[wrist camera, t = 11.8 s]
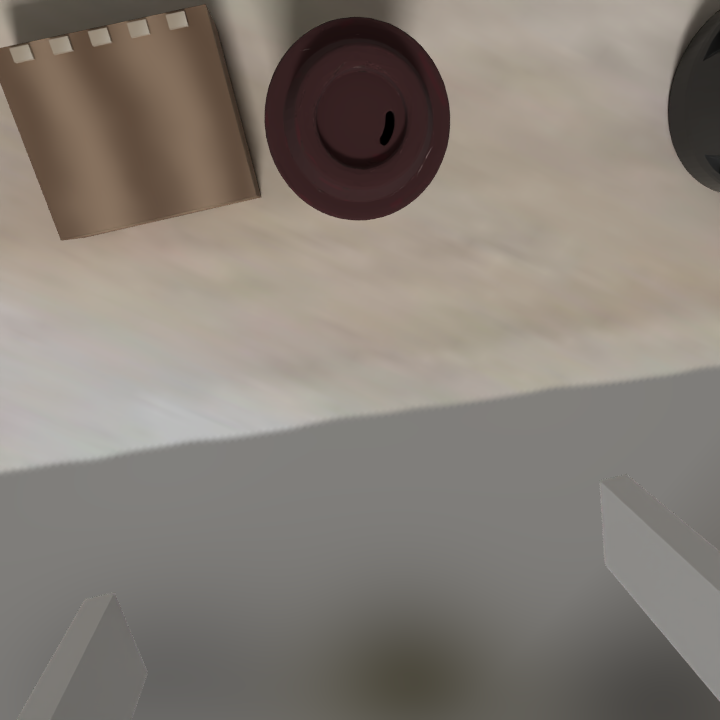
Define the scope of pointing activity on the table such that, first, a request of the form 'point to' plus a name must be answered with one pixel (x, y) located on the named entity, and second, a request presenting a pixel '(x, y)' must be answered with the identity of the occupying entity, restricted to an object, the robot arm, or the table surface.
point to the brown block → (130, 122)
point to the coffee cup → (357, 118)
